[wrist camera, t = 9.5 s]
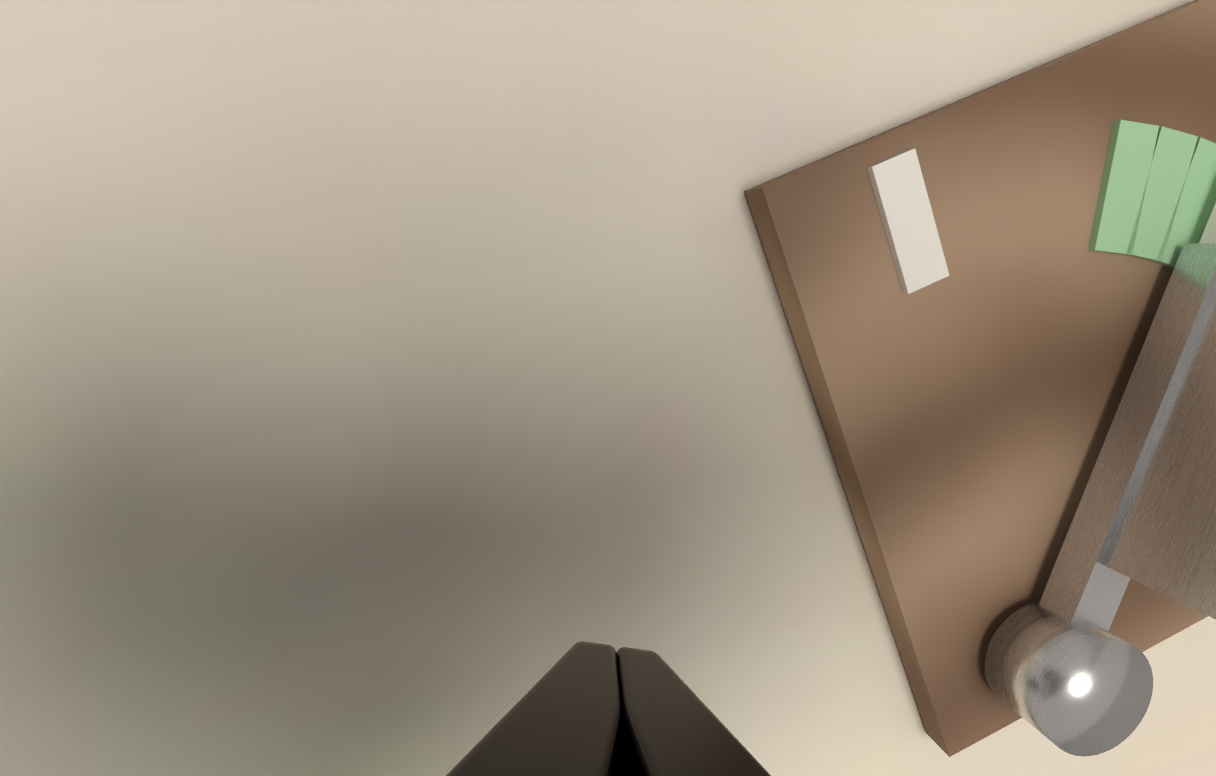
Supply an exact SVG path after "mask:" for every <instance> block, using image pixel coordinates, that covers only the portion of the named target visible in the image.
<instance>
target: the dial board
mask: <svg viewBox="0 0 1216 776" xmlns="http://www.w3.org/2000/svg"><path fill="white" fill-rule="evenodd" d="M744 192H745V195H746V198H747V201H748V204H749V207H750V210H751V213H752V216H753V219H754V222H755V225H756V228H757V231H758V234H759V237H760V240H761V243H762V246H763V249H764V252H765V255H766V258H767V261H768V264H769V267H770V270H771V273H772V276H773V279H774V282H775V284H776V287H777V290H778V293H779V296H780V299H781V302H782V305H783V308H784V311H785V314H786V317H787V320H788V323H789V326H790V329H791V332H792V335H793V338H794V341H795V344H796V347H797V350H798V353H799V356H800V359H801V362H802V365H803V368H804V371H805V374H806V377H807V380H808V383H809V386H810V389H811V392H812V395H813V398H814V401H815V404H816V406H817V409H818V412H819V415H820V418H821V421H822V424H823V427H824V430H825V433H826V436H827V439H828V442H829V445H830V448H831V451H832V454H833V457H834V460H835V463H836V466H837V469H838V472H839V475H840V478H841V481H842V484H843V487H844V490H845V493H846V496H847V499H848V502H849V505H850V508H851V511H852V514H853V517H854V520H855V523H856V526H857V529H858V531H859V534H860V537H861V540H862V543H863V546H864V549H865V552H866V555H867V558H868V561H869V564H870V567H871V570H872V573H873V576H874V579H875V582H876V585H877V588H878V591H879V594H880V597H881V600H882V603H883V606H884V609H885V612H886V615H887V618H888V621H889V624H890V627H891V630H892V633H893V636H894V639H895V642H896V645H897V648H898V651H899V653H900V656H901V659H902V662H903V665H904V668H905V671H906V674H907V677H908V680H909V683H910V686H911V689H912V692H913V695H914V698H915V701H916V704H917V707H918V710H919V713H920V716H921V719H922V722H923V725H924V728H925V731H926V733H927V734H928V735H929V736H930V737H931V738H932V739H933V740H934V741H935V743H936V744H937V745H938V746H939V747H940V748H941V749H942V750H943V751H944V752H945V753H946V754H947V755H948V756H949V757H950V756H952V755H954V754H956V753H958V752H959V751H961V750H963V749H965V748H967V747H969V746H970V745H972V744H974V743H976V742H978V741H980V740H981V739H983V738H985V737H987V736H989V735H991V734H993V733H994V732H996V731H998V730H1000V729H1002V728H1004V727H1005V726H1007V725H1009V724H1011V723H1013V722H1015V721H1016V720H1018V719H1020V718H1022V717H1021V716H1020V715H1019V714H1018V713H1016V712H1015V711H1014V710H1013V709H1012V708H1010V707H1009V706H1008V705H1007V704H1005V703H1004V702H1003V701H1002V700H1001V699H999V698H998V697H997V696H996V695H995V694H994V693H993V691H992V690H991V689H990V687H989V685H988V682H987V679H986V675H985V657H986V652H987V649H988V646H989V643H990V641H991V639H992V637H993V635H994V634H995V632H996V630H997V629H998V628H999V626H1000V625H1001V624H1002V623H1003V622H1004V621H1005V620H1006V619H1007V618H1008V617H1009V616H1010V615H1011V614H1013V613H1014V612H1015V611H1017V610H1018V609H1020V608H1022V607H1024V606H1026V605H1029V604H1032V603H1036V602H1040V600H1041V597H1042V595H1043V593H1044V590H1045V588H1046V585H1047V583H1048V580H1049V578H1050V575H1051V573H1052V570H1053V568H1054V565H1055V563H1056V560H1057V558H1058V555H1059V553H1060V550H1061V548H1062V545H1063V543H1064V540H1065V538H1066V535H1067V533H1068V531H1069V528H1070V526H1071V523H1072V521H1073V518H1074V516H1075V513H1076V511H1077V508H1078V506H1079V503H1080V501H1081V498H1082V496H1083V493H1084V491H1085V488H1086V486H1087V483H1088V481H1089V478H1090V476H1091V473H1092V471H1093V468H1094V466H1095V464H1096V461H1097V459H1098V456H1099V454H1100V451H1101V449H1102V446H1103V444H1104V441H1105V439H1106V436H1107V434H1108V431H1109V429H1110V426H1111V424H1112V421H1113V419H1114V416H1115V414H1116V411H1117V409H1118V406H1119V404H1120V402H1121V399H1122V397H1123V394H1124V392H1125V389H1126V387H1127V384H1128V382H1129V379H1130V377H1131V374H1132V372H1133V369H1134V367H1135V364H1136V362H1137V359H1138V357H1139V354H1140V352H1141V349H1142V347H1143V344H1144V342H1145V340H1146V337H1147V335H1148V332H1149V330H1150V327H1151V325H1152V322H1153V320H1154V317H1155V315H1156V312H1157V310H1158V307H1159V305H1160V302H1161V300H1162V297H1163V295H1164V292H1165V290H1166V287H1167V285H1168V282H1169V280H1170V277H1171V275H1172V273H1173V270H1174V268H1175V265H1176V263H1177V260H1178V258H1179V255H1180V253H1181V250H1182V248H1183V245H1184V244H1187V243H1199V242H1200V239H1201V237H1202V235H1203V232H1204V230H1205V227H1206V225H1207V222H1208V220H1209V217H1210V215H1211V212H1212V210H1213V207H1214V205H1215V202H1216V0H1195V1H1192V2H1190V3H1188V4H1185V5H1183V6H1181V7H1178V8H1176V9H1174V10H1171V11H1169V12H1167V13H1164V14H1162V15H1159V16H1157V17H1155V18H1152V19H1150V20H1148V21H1145V22H1143V23H1141V24H1138V25H1136V26H1134V27H1131V28H1129V29H1126V30H1124V31H1122V32H1119V33H1117V34H1115V35H1112V36H1110V37H1108V38H1105V39H1103V40H1100V41H1098V42H1096V43H1093V44H1091V45H1089V46H1086V47H1084V48H1082V49H1079V50H1077V51H1075V52H1072V53H1070V54H1067V55H1065V56H1063V57H1060V58H1058V59H1056V60H1053V61H1051V62H1049V63H1046V64H1044V65H1042V66H1039V67H1037V68H1034V69H1032V70H1030V71H1027V72H1025V73H1023V74H1020V75H1018V76H1016V77H1013V78H1011V79H1008V80H1006V81H1004V82H1001V83H999V84H997V85H994V86H992V87H990V88H987V89H985V90H983V91H980V92H978V93H975V94H973V95H971V96H968V97H966V98H964V99H961V100H959V101H957V102H954V103H952V104H950V105H947V106H945V107H942V108H940V109H938V110H935V111H933V112H931V113H928V114H926V115H924V116H921V117H919V118H917V119H914V120H912V121H909V122H907V123H905V124H902V125H900V126H898V127H895V128H893V129H891V130H888V131H886V132H883V133H881V134H879V135H876V136H874V137H872V138H869V139H867V140H865V141H862V142H860V143H858V144H855V145H853V146H850V147H848V148H846V149H843V150H841V151H839V152H836V153H834V154H832V155H829V156H827V157H825V158H822V159H820V160H817V161H815V162H813V163H810V164H808V165H806V166H803V167H801V168H799V169H796V170H794V171H792V172H789V173H787V174H784V175H782V176H780V177H777V178H775V179H773V180H770V181H768V182H766V183H763V184H761V185H758V186H756V187H754V188H751V189H749V190H747V191H744ZM1207 616H1208V615H1206V614H1203V613H1201V612H1199V611H1197V610H1195V609H1193V608H1191V607H1189V606H1187V605H1185V604H1183V603H1181V602H1179V601H1177V600H1175V599H1172V598H1170V597H1168V596H1166V595H1164V594H1162V593H1160V592H1158V591H1156V590H1154V589H1152V588H1150V587H1148V586H1146V585H1143V584H1141V583H1139V582H1137V581H1135V580H1133V579H1131V578H1130V581H1129V583H1128V585H1127V588H1126V590H1125V593H1124V595H1123V597H1122V600H1121V602H1120V605H1119V607H1118V609H1117V612H1116V614H1115V617H1114V619H1113V621H1112V624H1111V626H1110V629H1109V631H1108V632H1110V633H1112V634H1114V635H1115V636H1117V637H1119V638H1121V639H1122V640H1124V641H1126V642H1127V643H1129V644H1131V645H1133V646H1134V647H1136V648H1137V649H1138V650H1140V651H1141V652H1143V651H1145V650H1147V649H1149V648H1150V647H1152V646H1154V645H1156V644H1158V643H1160V642H1161V641H1163V640H1165V639H1167V638H1169V637H1171V636H1172V635H1174V634H1176V633H1178V632H1180V631H1182V630H1183V629H1185V628H1187V627H1189V626H1191V625H1193V624H1194V623H1196V622H1198V621H1200V620H1202V619H1204V618H1205V617H1207Z"/></svg>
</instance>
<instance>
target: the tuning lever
mask: <svg viewBox="0 0 1216 776" xmlns="http://www.w3.org/2000/svg"><path fill="white" fill-rule="evenodd" d="M1130 578H1131V579H1133V580H1135V581H1137V582H1139V583H1141V584H1143V585H1146V586H1148V587H1150V588H1152V589H1154V590H1156V591H1158V592H1160V593H1162V594H1164V595H1166V596H1168V597H1170V598H1172V599H1175V600H1177V601H1179V602H1181V603H1183V604H1185V605H1187V606H1189V607H1191V608H1193V609H1195V610H1197V611H1199V612H1201V613H1203V614H1206V615H1208V616H1210V617H1212V618H1214V619H1216V202H1215V205H1214V207H1213V210H1212V212H1211V215H1210V217H1209V220H1208V222H1207V225H1206V227H1205V230H1204V232H1203V235H1202V237H1201V239H1200V242H1199V243H1187V244H1184V245H1183V248H1182V250H1181V253H1180V255H1179V258H1178V260H1177V263H1176V265H1175V268H1174V270H1173V273H1172V275H1171V277H1170V280H1169V282H1168V285H1167V287H1166V290H1165V292H1164V295H1163V297H1162V300H1161V302H1160V305H1159V307H1158V310H1157V312H1156V315H1155V317H1154V320H1153V322H1152V325H1151V327H1150V330H1149V332H1148V335H1147V337H1146V340H1145V342H1144V344H1143V347H1142V349H1141V352H1140V354H1139V357H1138V359H1137V362H1136V364H1135V367H1134V369H1133V372H1132V374H1131V377H1130V379H1129V382H1128V384H1127V387H1126V389H1125V392H1124V394H1123V397H1122V399H1121V402H1120V404H1119V406H1118V409H1117V411H1116V414H1115V416H1114V419H1113V421H1112V424H1111V426H1110V429H1109V431H1108V434H1107V436H1106V439H1105V441H1104V444H1103V446H1102V449H1101V451H1100V454H1099V456H1098V459H1097V461H1096V464H1095V466H1094V468H1093V471H1092V473H1091V476H1090V478H1089V481H1088V483H1087V486H1086V488H1085V491H1084V493H1083V496H1082V498H1081V501H1080V503H1079V506H1078V508H1077V511H1076V513H1075V516H1074V518H1073V521H1072V523H1071V526H1070V528H1069V531H1068V533H1067V535H1066V538H1065V540H1064V543H1063V545H1062V548H1061V550H1060V553H1059V555H1058V558H1057V560H1056V563H1055V565H1054V568H1053V570H1052V573H1051V575H1050V578H1049V580H1048V583H1047V585H1046V588H1045V590H1044V593H1043V595H1042V597H1041V600H1040V602H1036V603H1032V604H1029V605H1026V606H1024V607H1022V608H1020V609H1018V610H1017V611H1015V612H1014V613H1013V614H1011V615H1010V616H1009V617H1008V618H1007V619H1006V620H1005V621H1004V622H1003V623H1002V624H1001V625H1000V626H999V628H998V629H997V630H996V632H995V634H994V635H993V637H992V639H991V641H990V643H989V646H988V649H987V652H986V657H985V675H986V679H987V682H988V685H989V687H990V689H991V690H992V691H993V693H994V694H995V695H996V696H997V697H998V698H999V699H1001V700H1002V701H1003V702H1004V703H1005V704H1007V705H1008V706H1009V707H1010V708H1012V709H1013V710H1014V711H1015V712H1016V713H1018V714H1019V715H1020V716H1021V717H1022V718H1024V719H1025V720H1026V721H1027V722H1029V723H1030V724H1031V725H1032V726H1033V727H1035V728H1036V729H1037V730H1038V731H1039V732H1041V733H1042V734H1043V735H1044V736H1046V737H1047V738H1048V739H1049V740H1050V741H1052V742H1053V743H1054V744H1055V745H1056V746H1058V747H1059V748H1060V749H1062V750H1063V751H1065V752H1067V753H1069V754H1072V755H1076V756H1092V755H1097V754H1100V753H1103V752H1106V751H1108V750H1110V749H1112V748H1114V747H1115V746H1117V745H1118V744H1120V743H1121V742H1122V741H1124V740H1125V739H1126V738H1127V737H1128V736H1129V735H1130V734H1131V733H1132V732H1133V731H1134V730H1135V729H1136V727H1137V726H1138V725H1139V723H1140V722H1141V720H1142V718H1143V717H1144V715H1145V713H1146V711H1147V709H1148V706H1149V703H1150V700H1151V696H1152V690H1153V676H1152V670H1151V667H1150V664H1149V662H1148V660H1147V658H1146V657H1145V655H1144V654H1143V653H1142V652H1141V651H1140V650H1138V649H1137V648H1136V647H1134V646H1133V645H1131V644H1129V643H1127V642H1126V641H1124V640H1122V639H1121V638H1119V637H1117V636H1115V635H1114V634H1112V633H1110V632H1108V631H1109V629H1110V626H1111V624H1112V621H1113V619H1114V617H1115V614H1116V612H1117V609H1118V607H1119V605H1120V602H1121V600H1122V597H1123V595H1124V593H1125V590H1126V588H1127V585H1128V583H1129V581H1130Z"/></svg>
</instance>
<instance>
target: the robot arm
mask: <svg viewBox="0 0 1216 776" xmlns="http://www.w3.org/2000/svg"><path fill="white" fill-rule="evenodd" d="M446 776H771V775H770V774H769V773H768V772H767V771H766V770H765V769H764V768H763V767H762V766H761V765H760V763H759V762H758V761H757V760H756V759H755V758H754V757H753V756H752V755H751V754H750V753H749V752H748V751H747V749H746V748H745V747H744V746H743V745H742V744H741V743H740V742H739V741H738V740H737V739H736V738H735V737H734V736H733V734H732V733H731V732H730V731H729V730H728V729H727V728H726V727H725V726H724V725H723V724H722V723H721V722H720V721H719V719H718V718H717V717H716V716H715V715H714V714H713V713H712V712H711V711H710V710H709V709H708V708H707V707H706V706H705V704H704V703H703V702H702V701H701V700H700V699H699V698H698V697H697V696H696V695H695V694H694V693H693V692H692V691H691V689H690V688H689V687H688V686H687V685H686V684H685V683H684V682H683V681H682V680H681V679H680V678H679V677H678V675H677V674H676V673H675V672H674V671H673V670H672V669H671V668H670V667H669V666H668V665H667V664H666V663H665V662H664V660H663V659H662V658H661V657H660V656H659V655H658V654H656V653H655V652H653V651H648V650H640V649H633V648H626V647H623V648H620V649H618V651H617V652H616V651H615V649H614V648H613V647H612V646H610V645H604V644H597V643H590V642H583V641H581V642H578V643H576V644H575V645H574V646H573V647H572V648H571V649H570V650H569V651H568V652H567V653H566V654H565V655H564V656H563V657H562V658H561V659H560V660H559V661H558V662H557V663H556V664H555V665H554V666H553V667H552V668H551V669H550V670H549V671H548V672H547V673H546V674H545V675H544V676H543V677H542V678H541V679H540V680H539V681H538V683H537V684H536V685H535V686H534V687H533V688H532V689H531V690H530V691H529V692H528V693H527V694H526V695H525V696H524V697H523V698H522V699H521V700H520V701H519V702H518V703H517V704H516V705H515V706H514V707H513V708H512V709H511V710H510V711H509V712H508V713H507V714H506V715H505V716H504V717H503V718H502V719H501V720H500V721H499V722H498V723H497V724H496V725H495V726H494V727H493V728H492V729H491V730H490V731H489V733H488V734H487V735H486V736H485V737H484V738H483V739H482V740H481V741H480V742H479V743H478V744H477V745H476V746H475V747H474V748H473V749H472V750H471V751H470V752H469V753H468V754H467V755H466V756H465V757H464V758H463V759H462V760H461V761H460V762H459V763H458V764H457V765H456V766H455V767H454V768H453V769H452V770H451V771H450V772H449V773H448V774H447V775H446Z"/></svg>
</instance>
